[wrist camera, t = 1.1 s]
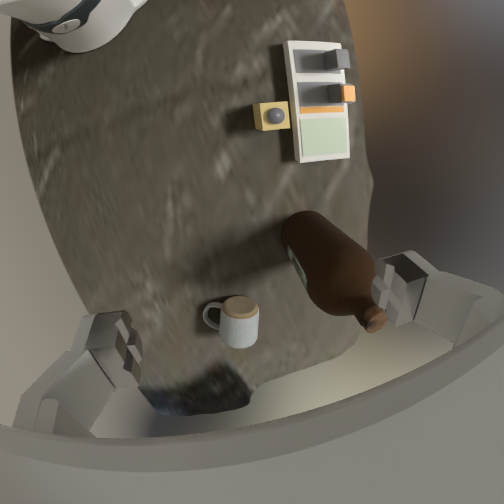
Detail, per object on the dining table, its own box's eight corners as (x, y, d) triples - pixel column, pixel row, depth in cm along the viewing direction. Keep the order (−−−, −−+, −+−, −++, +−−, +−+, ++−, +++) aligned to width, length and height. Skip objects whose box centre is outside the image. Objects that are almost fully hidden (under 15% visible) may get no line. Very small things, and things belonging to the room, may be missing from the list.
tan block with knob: (252, 104, 39) (260, 103, 34) (277, 101, 40) (288, 101, 35) (255, 128, 41) (264, 131, 36) (280, 125, 42) (291, 128, 37)
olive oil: (314, 195, 49) (402, 269, 27) (339, 236, 54) (417, 318, 32) (266, 231, 50) (323, 328, 29) (295, 269, 55) (354, 365, 34)
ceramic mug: (255, 291, 56) (264, 317, 49) (253, 322, 60) (260, 348, 53) (201, 294, 54) (203, 320, 47) (203, 325, 58) (205, 352, 51)
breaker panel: (282, 43, 35) (287, 40, 33) (333, 45, 36) (341, 43, 34) (295, 160, 45) (300, 163, 43) (342, 155, 46) (350, 158, 44)
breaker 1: (323, 52, 34) (335, 48, 31) (335, 53, 34) (347, 49, 31) (326, 69, 35) (338, 67, 32) (337, 70, 36) (350, 68, 32)
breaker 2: (327, 84, 37) (342, 83, 33) (338, 85, 37) (354, 83, 33) (329, 102, 38) (344, 103, 34) (340, 102, 38) (356, 103, 34)
